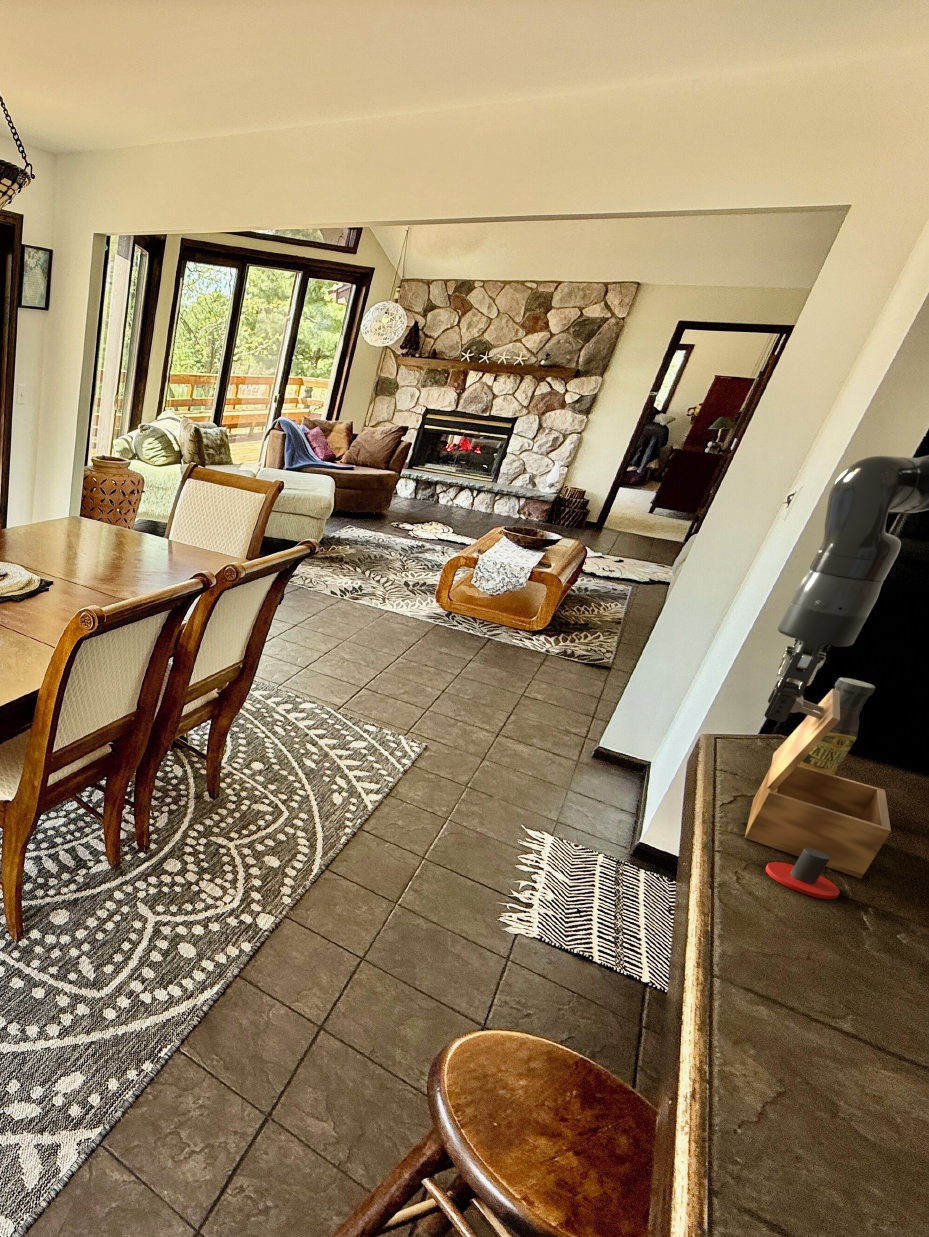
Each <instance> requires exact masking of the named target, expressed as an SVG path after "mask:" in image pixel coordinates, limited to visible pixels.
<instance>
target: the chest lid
mask: <svg viewBox="0 0 929 1237" xmlns="http://www.w3.org/2000/svg"><path fill="white" fill-rule="evenodd" d="M799 712H800V713H803V714H806V716H807V715H808V716H807V717H806V716H805V718H806V719H805V718H804V720H802V722H801V723H800V724H798V726H797V727H796V728H795V729H794V730H793V732H792V733H791V734H789V736H788V737H787V738H786V739H785V740H784V742H783V743H782V744H781V745H780V746H779V747H778V748H777V749H776V750H775V751H774V752H773V754H772V760H771V765H770V767H771V770H770V775H769V780H768V785H767V788H768V789H770V790H773V791H774V790H775V789H776V788H777V787H778V786H779V785H780V784H781V783H782V782H783V781H784V780H785V779H786V778H787V777H788V775H789V774H790V773H791V772H792V771H793V770H794V769H795V768H796V767H797V766H798V765H799V764H800V763H801V762H802V760H803V759H804V758H805V757H806V756H807V755H808V754H809V753H810V752H811V751H812V750H813V749H814V748H815V747H816V746H817V744H818V743H819V742H820V741H821V740H822V739H823V738H824V737H825V736H826V735H827V734H828V733H829V732H830V731H831V729H832V728H833V727H834V726H835V725H836V724H837V723H838V722H839V721H840V695H839V691H838V690H835V688H831V690H830V691H829V692H828V693H826V695H825V696H824V697H823V698H822V699H821V701H820V702H818V704H816V703H815V702H814V703H813V702H811V701H808V700H806V699H804V695H803V696H801V697H800V698H799V699H797V700H796V701H795V703H794V705H793V707H792V709H791V711H790V713H799Z"/></svg>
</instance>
